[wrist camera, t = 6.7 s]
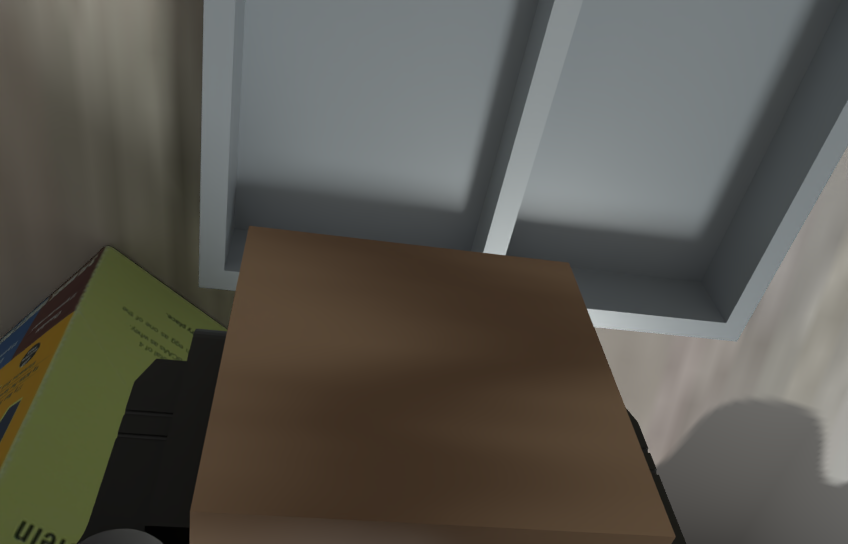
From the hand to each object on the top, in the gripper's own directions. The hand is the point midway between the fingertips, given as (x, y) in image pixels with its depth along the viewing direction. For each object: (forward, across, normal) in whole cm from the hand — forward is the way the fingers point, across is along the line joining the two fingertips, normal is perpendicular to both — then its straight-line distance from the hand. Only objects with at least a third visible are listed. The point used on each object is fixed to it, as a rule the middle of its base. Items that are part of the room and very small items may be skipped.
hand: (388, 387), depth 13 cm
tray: (+15, -5, 0) cm, 16 cm away
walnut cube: (+1, 0, 0) cm, 1 cm away
